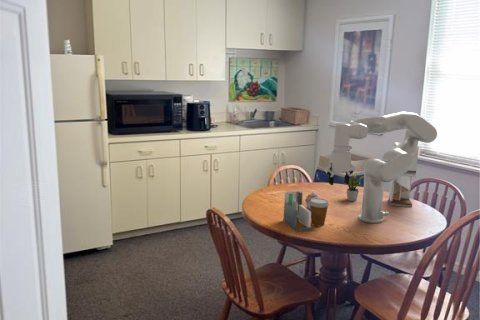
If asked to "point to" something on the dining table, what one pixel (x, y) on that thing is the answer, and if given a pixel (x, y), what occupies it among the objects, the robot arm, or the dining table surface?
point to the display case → (403, 185)
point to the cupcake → (311, 196)
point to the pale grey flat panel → (304, 214)
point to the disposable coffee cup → (318, 211)
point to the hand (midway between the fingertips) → (338, 183)
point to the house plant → (353, 188)
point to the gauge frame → (292, 210)
